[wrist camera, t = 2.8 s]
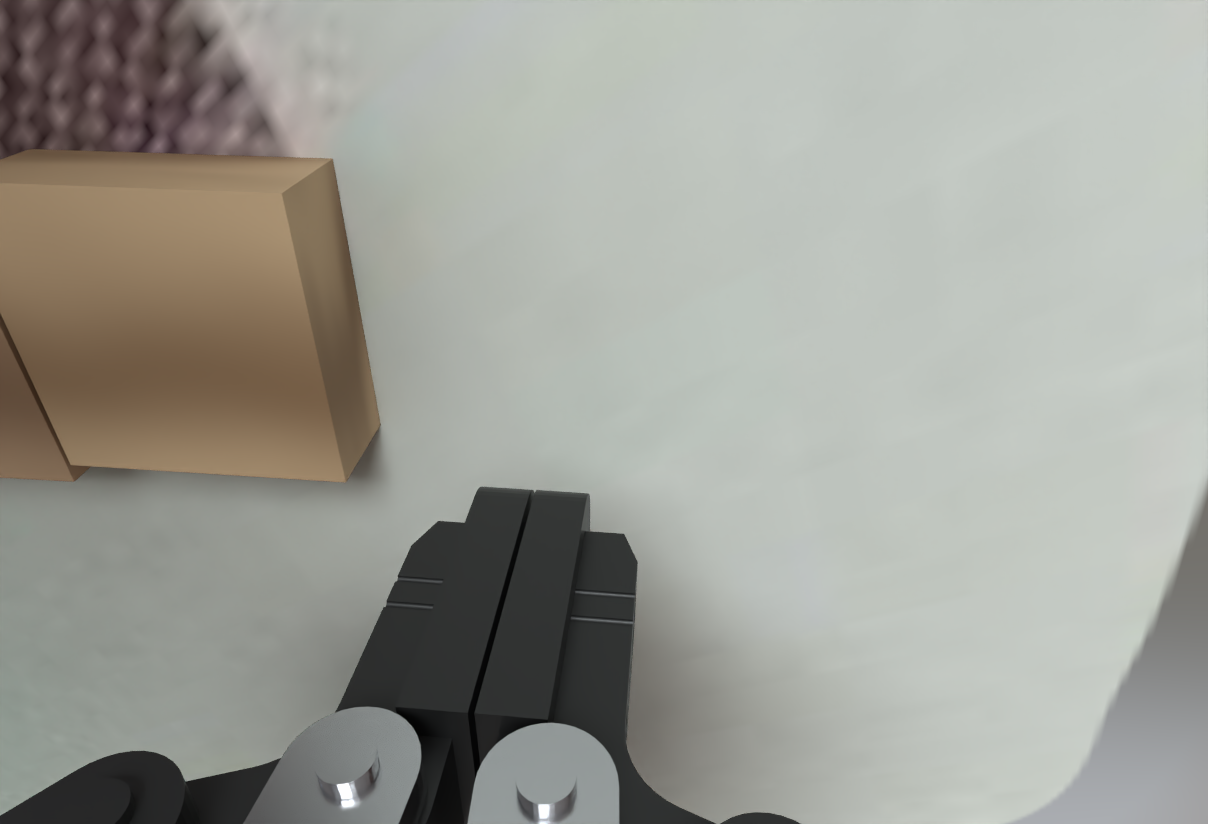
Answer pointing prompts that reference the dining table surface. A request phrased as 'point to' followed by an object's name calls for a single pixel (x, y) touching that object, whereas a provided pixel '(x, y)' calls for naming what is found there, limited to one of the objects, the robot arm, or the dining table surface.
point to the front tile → (188, 311)
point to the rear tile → (27, 424)
